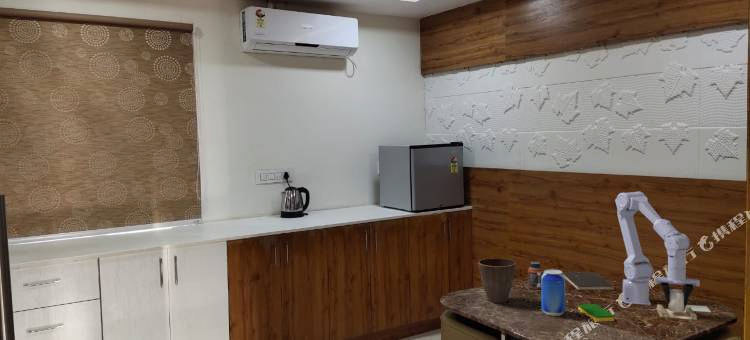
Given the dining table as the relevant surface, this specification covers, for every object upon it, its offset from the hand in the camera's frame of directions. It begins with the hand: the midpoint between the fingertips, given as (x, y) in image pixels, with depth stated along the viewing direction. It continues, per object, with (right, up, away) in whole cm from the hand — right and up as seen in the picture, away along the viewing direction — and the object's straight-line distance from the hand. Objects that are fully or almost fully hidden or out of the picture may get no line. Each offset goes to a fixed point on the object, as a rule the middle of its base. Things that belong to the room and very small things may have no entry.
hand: (676, 303), depth 196 cm
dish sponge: (-29, -6, +2) cm, 30 cm away
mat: (+12, -4, +6) cm, 13 cm away
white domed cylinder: (0, -2, 0) cm, 2 cm away
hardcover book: (-15, -3, +46) cm, 48 cm away
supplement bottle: (-40, -3, +39) cm, 56 cm away
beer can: (-44, -5, +5) cm, 44 cm away
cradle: (0, -4, 0) cm, 4 cm away
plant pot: (-61, -5, +22) cm, 65 cm away
